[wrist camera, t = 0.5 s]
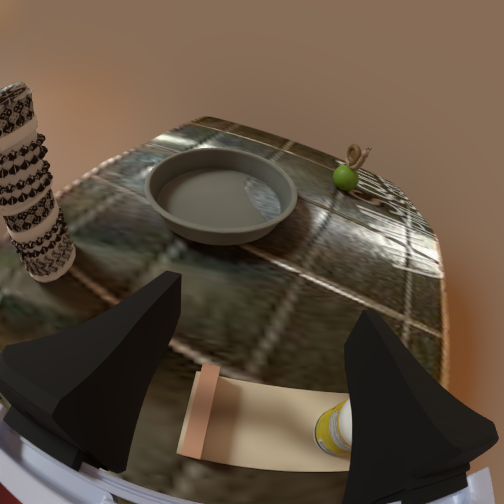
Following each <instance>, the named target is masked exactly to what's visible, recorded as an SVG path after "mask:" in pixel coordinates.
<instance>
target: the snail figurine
mask: <svg viewBox="0 0 504 504" xmlns="http://www.w3.org/2000/svg"><path fill="white" fill-rule="evenodd" d="M366 149H369V150H371V147H366ZM347 157H348V158H347ZM347 157H345V162H346V165H342V166H340V167H338V168H337V169H336V170H335V172H334V174H333V181H334V183H335V185H336V186H337V187H338V188H339V189H340V190H343V191H350V190H352V189H354V188H355V187H356V186H357V184H358V181H359V176H358V173H357V171H356V170H358V169H359V168H360V167H361V166H362V165H363V163H364V161H365V159H366V158H367V157H368V152H367V151H363V152H362V154H361V150H360V147H359V146H358V145H356V144H352V145H351V146H350V147H349V148H348V151H347Z"/></svg>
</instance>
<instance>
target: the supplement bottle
mask: <svg viewBox="0 0 504 504" xmlns="http://www.w3.org/2000/svg"><path fill="white" fill-rule="evenodd" d="M313 435H314V440H315V443H316V445H317V446H318V448H319V449H320V450H322V451H323V452H324V453H326V454H329V455H345V454H350V453H351V444H352V414H351V405H350V398H348V399H347V400H345V401H343V402H341V403H340V404H338V405H336V406H335V407H333V408H331V409H329V410H328V411H326V412H324V413H323V414H322V415H321V416H320V417H319V418H318V420H317V421H316V423H315V426H314V430H313Z"/></svg>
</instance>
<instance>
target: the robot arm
mask: <svg viewBox="0 0 504 504" xmlns="http://www.w3.org/2000/svg"><path fill="white" fill-rule="evenodd" d="M181 276H182V274H179V273H175V272H171V271H165V272H164V273H162V274H161V275H159V276H158V277H157V278H155V279H154V280H152V281H151V282H150V283H148V284H147V285H145V286H144V287H143V288H141V289H140V290H138V291H137V292H135V293H134V294H132V295H131V296H129V297H128V298H126V299H125V300H123V301H122V302H120V303H119V304H117V305H115V306H114V307H112V308H110V309H109V310H107V311H105V312H103V313H102V314H100V315H98V316H96V317H94V318H92V319H90V320H88V321H86V322H84V323H81V324H79V325H76V326H74V327H71V328H69V329H67V330H64V331H62V332H59V333H56V334H53V335H50V336H46V337H43V338H39V339H36V340H32V341H27V342H22V343H17V344H12V345H7V346H6V347H5V348H4V349H3V351H2V352H1V353H0V392H1V393H2V395H3V396H4V397H5V398H6V399H7V400H8V402H9V403H10V404H11V405H12V406H11V407H10V409H9V410H8V409H7V408H6V407H5V406H3V405H2V404H1V403H0V482H1V483H2V485H3V486H4V487H5V488H6V489H7V490H8V491H9V492H11V493H12V494H13V495H14V496H15V497H16V498H17V499H18V500H19V501H20V502H21V503H22V504H120V503H119V502H118V499H117V498H116V496H118V497H120V498H122V499H125V500H127V501H130V502H133V503H135V504H201V503H196V502H192V501H188V500H184V499H180V498H176V497H172V496H169V495H165V494H162V493H158V492H155V491H152V490H149V489H146V488H143V487H140V486H138V485H135V484H132V483H130V482H127V481H125V480H122V479H120V478H117V477H115V476H112V475H110V474H108V473H106V472H103V471H101V470H99V468H102V469H104V470H106V471H109V470H110V471H112V472H115V473H121V472H124V471H126V466H127V461H128V456H129V452H130V447H131V443H132V439H133V435H134V431H135V427H136V424H137V420H138V417H139V413H140V410H141V407H142V404H143V401H144V398H145V395H146V392H147V389H148V386H149V384H150V381H151V379H152V377H153V375H154V373H155V371H156V369H157V367H158V364H159V362H160V360H161V358H162V356H163V354H164V352H165V350H166V348H167V346H168V344H169V342H170V340H171V338H172V336H173V334H174V331H175V328H176V325H177V322H178V319H179V317H180V314H181ZM344 357H345V371H346V378H347V385H348V391H349V398H350V405H351V414H352V444H351V458H350V466H349V474H348V480H347V485H346V490H345V495H344V499H343V502H342V504H495V500H494V493H493V487H492V481H491V476H490V472H489V467H486V468H484V469H482V470H480V471H478V472H476V473H473V474H471V475H469V476H466V471H468V470H470V464H469V462H471V461H472V460H474V459H475V458H477V457H478V456H480V455H481V454H483V453H484V452H486V451H487V450H488V449H490V448H491V447H492V446H494V445H495V444H496V443H497V441H498V439H499V437H498V434H497V431H496V428H495V425H494V423H493V422H492V421H490V420H488V419H487V418H485V417H483V416H481V415H480V414H478V413H476V412H475V411H473V410H472V409H470V408H468V407H467V406H466V405H464V404H463V403H462V402H460V401H459V400H458V399H456V398H455V397H454V396H453V395H452V394H450V393H449V392H448V391H447V390H446V389H444V388H443V387H442V386H441V385H440V384H439V383H438V382H437V381H436V380H435V379H434V378H433V377H432V376H431V375H430V374H429V373H428V372H427V371H426V370H425V369H424V368H423V367H422V366H421V365H420V363H419V362H418V361H417V360H416V359H415V358H414V357H413V355H412V354H411V353H410V352H409V351H408V349H407V348H406V347H405V346H404V344H403V343H402V342H401V341H400V340H399V338H398V337H397V336H396V335H395V333H394V332H393V331H392V330H391V328H390V327H389V326H388V325H387V323H386V322H385V321H384V320H383V319H382V318H381V316H380V315H379V314H378V313H377V312H373V311H367V310H363V311H362V313H361V315H360V317H359V319H358V321H357V323H356V325H355V326H354V328H353V330H352V332H351V334H350V335H349V337H348V339H347V341H346V342H345V344H344ZM114 495H115V496H114Z"/></svg>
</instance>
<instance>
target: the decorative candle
mask: <svg viewBox="0 0 504 504" xmlns="http://www.w3.org/2000/svg"><path fill="white" fill-rule="evenodd" d="M33 91H34V89H29V88H28V87H27V86H26V85H25V84H24V83H23V82H17V83H14V84H11V85H9V86H6V87H4V88H2V89H0V214H1V215H2V216H3V217H4V220H5V222H6V224H7V228H8V231H9V233H10V238H11V239H12V240H11V242H12V244H13V245H15V247H16V252H17V253H19V254H20V257H21V261H22V263H23V264H25V268H26V270H27V271H29V272H30V275H31V277H32V278H34V279H35V280H36V281H38V282H45V283H46V282H50V281H53V280H56V279H58V278H59V277H61V276H62V275H64V274H65V273H66V272H67V271H68V270H69V268H70V267H71V266H72V264H73V262H74V259H75V257H76V248H75V246H74V245H73V240H70V239H69V238H70V237H71V236H70V232H66V231H67V229H68V227H67V226H66V221H64V217H63V212H61V208H60V207H58V205H57V201H56V199H55V198H54V196H53V194H52V190H51V184H52V178H53V176H52V175H51V173H50V172H48V169H49V167H50V164H49V163H48V162H47V161H44V160H42V159H43V157H44V156H45V154H46V153H47V152H48V150H47V148H46V147H45V146H41V145H42V143H43V142H44V140H45V136H44V135H42V134H38V133H36V128H37V127H38V125H37V118H36V115H35V113H34V111H33V102H32V92H33Z"/></svg>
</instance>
